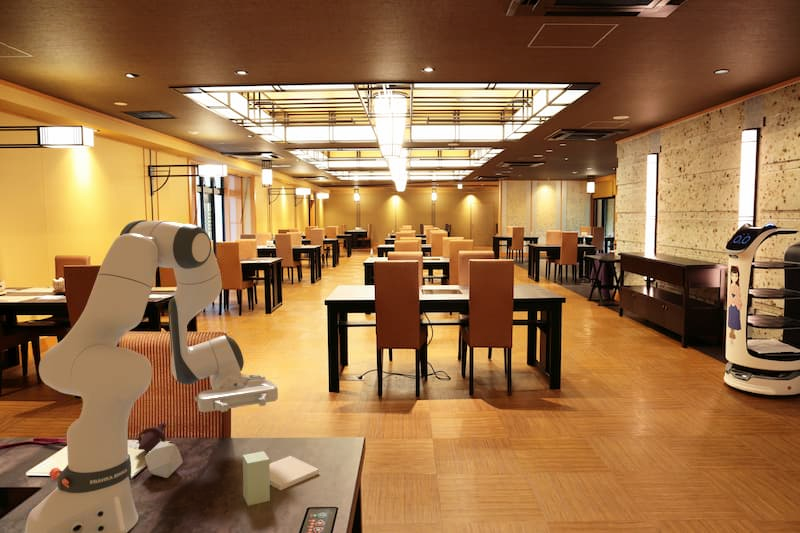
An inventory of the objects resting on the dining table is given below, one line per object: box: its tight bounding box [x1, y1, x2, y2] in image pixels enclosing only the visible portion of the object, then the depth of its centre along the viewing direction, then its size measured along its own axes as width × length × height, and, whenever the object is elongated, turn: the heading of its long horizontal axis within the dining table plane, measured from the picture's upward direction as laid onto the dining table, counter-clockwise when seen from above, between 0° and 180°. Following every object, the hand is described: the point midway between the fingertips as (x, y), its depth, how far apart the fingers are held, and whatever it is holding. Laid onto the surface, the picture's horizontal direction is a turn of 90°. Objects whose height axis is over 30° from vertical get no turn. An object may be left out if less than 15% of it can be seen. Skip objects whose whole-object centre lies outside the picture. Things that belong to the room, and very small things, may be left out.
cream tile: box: [269, 455, 320, 491], centre depth 140 cm, size 12×12×1 cm
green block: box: [242, 450, 271, 507], centre depth 127 cm, size 5×5×10 cm
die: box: [144, 441, 184, 479], centre depth 139 cm, size 8×9×10 cm
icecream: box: [137, 422, 167, 453], centre depth 153 cm, size 7×8×15 cm
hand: (244, 405), depth 137 cm, fingers open, 8 cm apart
